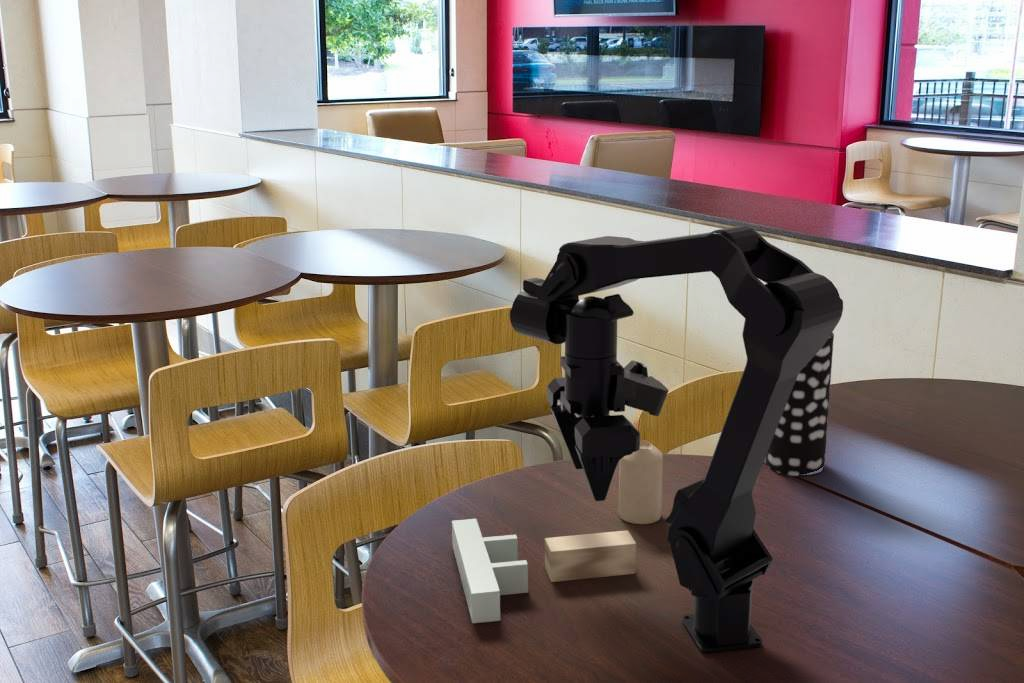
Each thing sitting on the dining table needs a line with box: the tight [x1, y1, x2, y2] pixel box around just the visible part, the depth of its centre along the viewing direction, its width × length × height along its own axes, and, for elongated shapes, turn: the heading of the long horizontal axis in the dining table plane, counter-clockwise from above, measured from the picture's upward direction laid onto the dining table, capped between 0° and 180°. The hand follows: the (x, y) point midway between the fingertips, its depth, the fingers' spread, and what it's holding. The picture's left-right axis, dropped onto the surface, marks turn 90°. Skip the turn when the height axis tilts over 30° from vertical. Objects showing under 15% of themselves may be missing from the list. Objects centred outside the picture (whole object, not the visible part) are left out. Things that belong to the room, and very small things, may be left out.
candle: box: [618, 439, 664, 525], centre depth 131 cm, size 6×6×10 cm
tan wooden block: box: [544, 530, 637, 583], centre depth 118 cm, size 10×4×4 cm, turn 100°
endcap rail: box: [451, 518, 529, 624], centre depth 117 cm, size 18×7×4 cm, turn 10°
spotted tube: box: [765, 331, 835, 477], centre depth 146 cm, size 8×8×20 cm
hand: (589, 483), depth 116 cm, fingers open, 9 cm apart
